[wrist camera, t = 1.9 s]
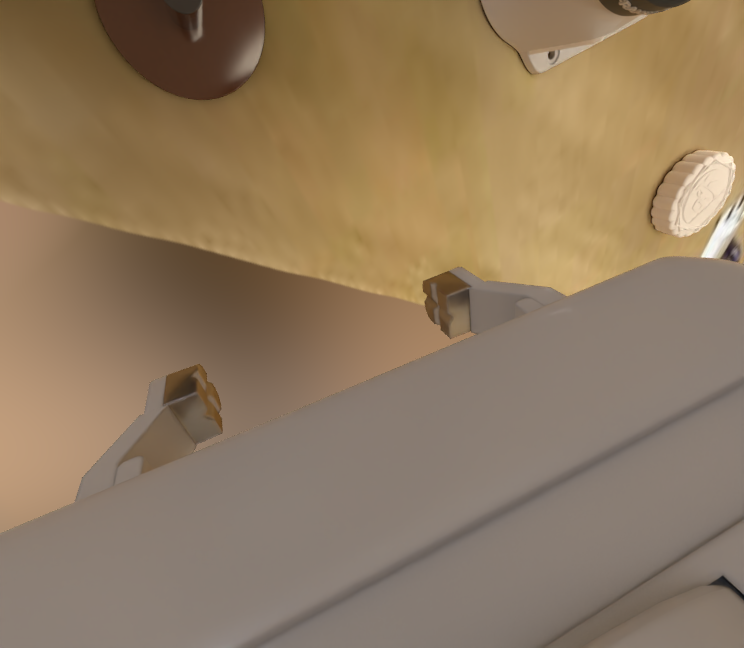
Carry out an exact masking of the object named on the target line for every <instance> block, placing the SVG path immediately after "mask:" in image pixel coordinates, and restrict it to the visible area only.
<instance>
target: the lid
mask: <svg viewBox="0 0 744 648" xmlns="http://www.w3.org/2000/svg"><path fill="white" fill-rule="evenodd" d="M94 1H95V5H96V8H97V11H98V14H99V16H100V19H101V21H102V24H103V26H104V28H105V30H106V31H107V33H108V35H109V37H110V39H111V40H112V42H113V43H114V45H115V46H116V48H117V49H118V51H119V52H120V53H121V54H122V56H123V57H124V58H125V59H126V61H127V62H128V63H129V64H130V65H131V66H132V67H133V68H134V69H135V70H136V71H137V72H139V73H140V74H141V75H142V76H143V77H145V78H146V79H147V80H149V81H150V82H152V83H153V84H155V85H156V86H158V87H160V88H161V89H163V90H165V91H167V92H170V93H172V94H175V95H177V96H181V97H184V98H188V99H196V100H210V99H216V98H220V97H223V96H226V95H228V94H230V93H232V92H234V91H236V90H237V89H238V88H240V87H241V86H242V85H243V84H244V83H245V82H246V81H247V80H248V79H249V78H250V76H251V75H252V74H253V72H254V70H255V68H256V66H257V65H258V62H259V60H260V57H261V54H262V50H263V45H264V38H265V17H264V9H263V4H262V0H94Z"/></svg>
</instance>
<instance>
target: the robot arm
mask: <svg viewBox="0 0 744 648" xmlns="http://www.w3.org/2000/svg"><path fill="white" fill-rule="evenodd" d="M688 1H690V0H481V2H482V6H483V9H484V11H485V14H486V16H487V18H488V20H489V22H490V24H491V26H492V27H493V29H494V30H495V31H496V33H497V34H498V35H499V36H500V37H501V38H502V39H503V40H504V41H506V42H507V43H508V44H510V45H511V46H513V47H514V48H515V49H516V50H517V51H518V52H519V54H520V56H521V58H522V60H523V62H524V64H525V66H526V68H527V69H528V71H529V72H530V73H531V74H539V73H543V72H545V71H547V70H549V69H551V68H553V67H555V66H556V65H558V64H560V63H562V62H564V61H566V60H568V59H569V58H571V57H573V56H575V55H577V54H579V53H581V52H582V51H584V50H586V49H588V48H590V47H592V46H594V45H595V44H597V43H599V42H601V41H603V40H605V39H606V38H608V37H610V36H612V35H614V34H616V33H618V32H619V31H621V30H623V29H625V28H627V27H629V26H631V25H632V24H634V23H636V22H638V21H640V20H641V19H643V18H645V17H646V16H647V15H648V14H653V13H658V12H661V11H665V10H668V9H670V8H673V7H676V6H679V5H682V4H684V3H686V2H688ZM549 52H550V56H549V58H548V53H549ZM423 292H424V293H425V294H427V295H428V296H427V298H426V300H425V307H426V311H427V314H428V316H429V318H430V319H431V321H432V322H433V323H434V324H437V325H440V326H441V330H442V331H443V332H444V333H445V334H446V335H447V336H448V337H449V338H450V339H451V338H454V337H457V336H459V335H462V334H465V333H467V332H470V331H471V332H472V333H475V334H476V335H474V336H472V337H469V338H467V339H464V340H462V341H460V342H457V343H455V344H452V345H450V346H448V347H445V348H443V349H440V350H438V351H436V352H433V353H431V354H428V355H426V356H424V357H421V358H419V359H416V360H414V361H412V362H409V363H407V364H404V365H402V366H400V367H397V368H395V369H393V370H390V371H388V372H385V373H383V374H381V375H378V376H376V377H373V378H371V379H369V380H366V381H364V382H362V383H359V384H357V385H354V386H352V387H349V388H347V389H345V390H342V391H340V392H338V393H335V394H333V395H330V396H328V397H325V398H323V399H321V400H318V401H316V402H314V403H311V404H309V405H307V406H304V407H302V408H299V409H297V410H294V411H292V412H290V413H287V414H285V415H283V416H280V417H278V418H275V419H273V420H270V421H268V422H266V423H263V424H261V425H259V426H256V427H254V428H251V429H249V430H247V431H244V432H242V433H239V434H237V435H234V436H232V437H230V438H227V439H225V440H223V441H220V442H218V443H216V444H213V445H211V446H208V447H206V448H203V449H201V450H199V451H196V452H194V450H195V448H196V445H197V444H199V443H201V442H204V441H206V440H208V439H211V438H213V437H215V436H217V435H220V434H222V432H223V429H222V418H221V417H220V415H219V412H220V410H221V403H220V399H219V396H218V393H217V391H216V389H215V387H214V386H213V384H212V383H210V382H208V381H207V373H206V372H205V370H204V369H203V367H202V366H201V365H200V364H197V365H195V366H192V367H189V368H186V369H183V370H181V371H178V372H175V373H172V374H169V375H166V376H163V377H161V378H158V379H155V380H153V381H151V382H150V384H149V389H148V395H147V400H146V406H145V411H144V414H142V415H140V416H138V418H137V419H136V420H135V421H134V422H133V423H132V424H131V425H130V426H129V427H128V428H127V429H126V431H125V432H124V433H123V434H122V435H121V436H120V437H119V438H118V439H117V440H116V441H115V442H114V444H113V445H112V446H111V447H110V448H109V449H108V450H107V451H106V452H105V453H104V454H103V456H102V457H101V458H100V459H99V460H98V461H97V462H96V463H95V464H94V465H93V466H92V468H91V469H90V470H89V471H88V472H87V473H86V474H85V475H84V476H83V477H82V480H81V484H80V486H79V490H78V493H77V496H76V499H75V502H74V503H72V504H69V505H67V506H65V507H62V508H60V509H57V510H55V511H52V512H50V513H48V514H45V515H43V516H40V517H38V518H36V519H33V520H31V521H28V522H26V523H24V524H21V525H19V526H17V527H14V528H12V529H9V530H7V531H5V532H2V533H0V648H744V264H741V263H737V262H734V261H729V260H723V259H714V258H701V257H682V256H673V257H662V258H659V259H656V260H653V261H651V262H648V263H646V264H644V265H642V266H639V267H637V268H634V269H632V270H630V271H627V272H625V273H622V274H620V275H618V276H615V277H613V278H610V279H608V280H606V281H603V282H601V283H599V284H596V285H594V286H591V287H589V288H587V289H584V290H582V291H579V292H577V293H575V294H572V295H570V296H565V295H563V294H562V293H560V292H558V291H556V290H554V289H552V288H551V287H542V286H533V285H524V284H514V283H505V282H496V281H486V282H484V281H483V280H481V279H480V278H478V277H476V276H475V275H473V274H472V273H470V272H469V271H467V270H465V269H464V268H462V267H457V268H454V269H452V270H450V271H447V272H445V273H442V274H440V275H437V276H435V277H432V278H430V279H427V280H425V281H423ZM193 452H194V453H193Z"/></svg>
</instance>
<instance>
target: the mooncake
mask: <svg viewBox="0 0 744 648" xmlns="http://www.w3.org/2000/svg"><path fill="white" fill-rule="evenodd" d="M735 168H736V166H735V164H734V163H733V157H732V156H729V155H728V153H726V152H718V151H709V150H704V151H702V150H697V151H695V152H694V153H693V154H688V155H686V156H685V157H684V158H683V159H682V161H679V162H678V163H676V164H675V165H674V167H673V169H672V171H670V172H669V173H668V174H667V175H666V176H665V178H664V182H663V183H662V184H661V185H660V186H659V188H658V190H657V195H656V197H655V198H654V200H653V206H654V207H653V208H652V210H651V215H652V217H653V218H652V224H653V225H655V229H656V230H658V231H661V232H662V233H665V234H669V235H672V236H675V237H683V236H685V237H688V236H690V235H691V234H692V233H696V232H698V231H699V230H700V229H701V228H702V227H705V226H706V225H707V224H708V223H709V222H710V220H711V218H712V217H714V216H715V215H716V214H717V213H718V211H719V210H720V209H721V208H722V207H723V206H724V203H725V201H726V198H727V197H728V196H729V194H730V192H731V188H732V185H731V184H732V182H733V181H734V179H735V174H734V173H735V170H736V169H735Z"/></svg>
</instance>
